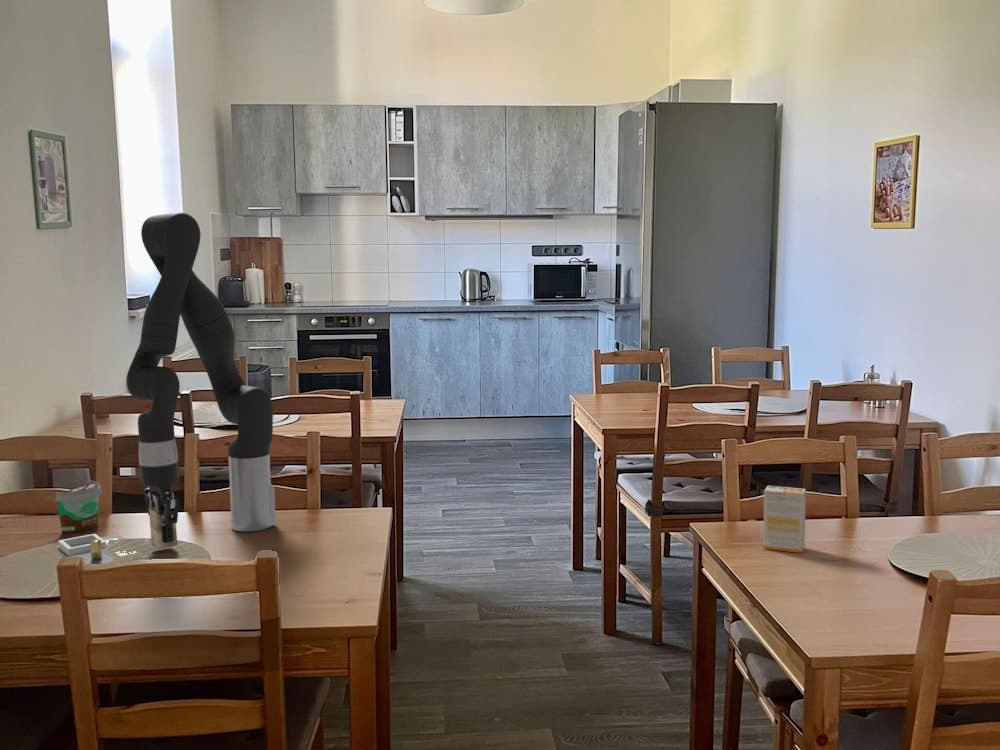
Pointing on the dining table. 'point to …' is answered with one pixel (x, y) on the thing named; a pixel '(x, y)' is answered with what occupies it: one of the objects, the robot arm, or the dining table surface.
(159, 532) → the square pin
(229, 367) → the robot arm
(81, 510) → the food container
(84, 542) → the board
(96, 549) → the pin
